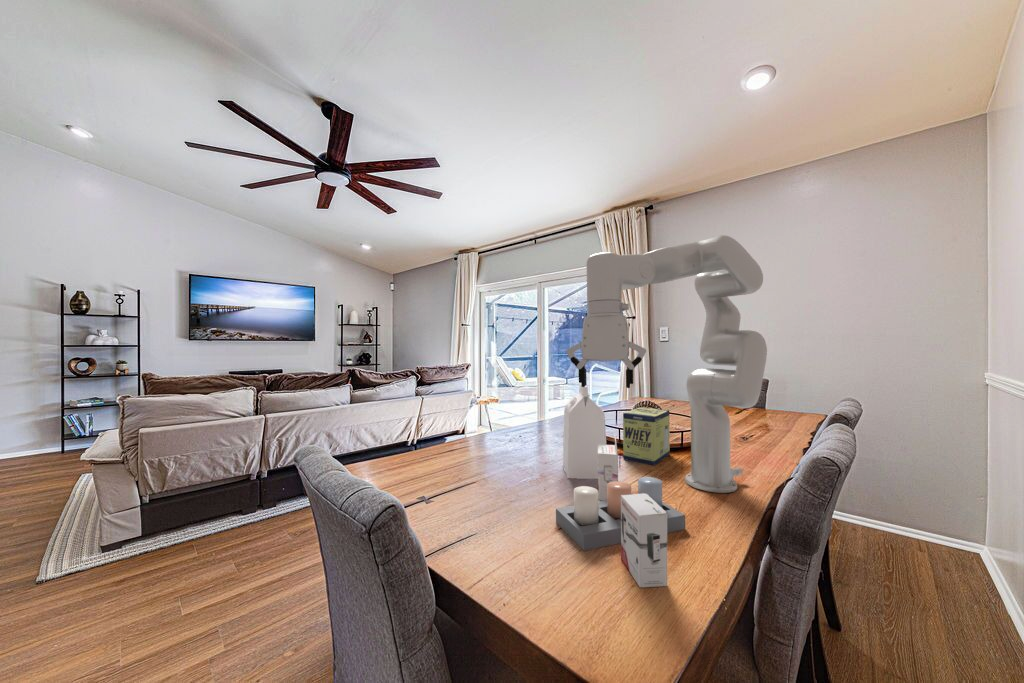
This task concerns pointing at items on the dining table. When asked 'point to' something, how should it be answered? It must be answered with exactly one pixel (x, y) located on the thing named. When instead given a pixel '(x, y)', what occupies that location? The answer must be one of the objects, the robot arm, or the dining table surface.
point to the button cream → (586, 505)
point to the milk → (582, 436)
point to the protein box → (646, 435)
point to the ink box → (644, 539)
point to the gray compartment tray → (606, 526)
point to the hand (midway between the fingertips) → (605, 386)
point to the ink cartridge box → (607, 467)
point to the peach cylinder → (616, 497)
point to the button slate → (651, 488)
